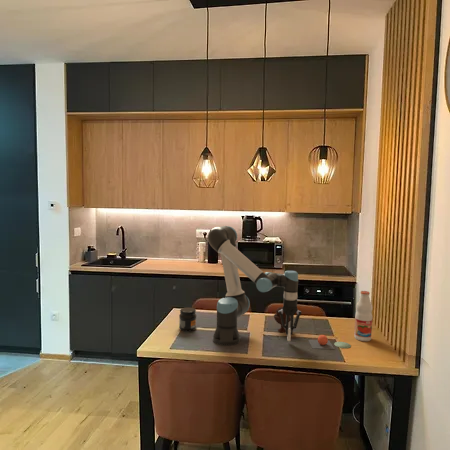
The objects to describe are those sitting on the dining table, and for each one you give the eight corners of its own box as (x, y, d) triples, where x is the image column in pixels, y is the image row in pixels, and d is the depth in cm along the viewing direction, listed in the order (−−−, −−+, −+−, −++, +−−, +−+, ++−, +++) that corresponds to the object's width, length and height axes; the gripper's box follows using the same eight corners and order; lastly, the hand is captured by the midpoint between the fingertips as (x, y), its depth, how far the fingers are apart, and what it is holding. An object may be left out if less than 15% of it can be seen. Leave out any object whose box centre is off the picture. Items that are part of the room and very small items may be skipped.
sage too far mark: (336, 348, 207) (336, 347, 207) (332, 341, 216) (332, 341, 216) (353, 348, 207) (353, 348, 207) (348, 342, 216) (348, 341, 216)
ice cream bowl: (291, 334, 225) (292, 310, 224) (272, 333, 227) (273, 308, 226) (291, 328, 236) (292, 305, 234) (273, 327, 238) (274, 303, 237)
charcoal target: (312, 348, 205) (312, 348, 205) (308, 340, 217) (308, 339, 217) (334, 349, 205) (334, 348, 205) (329, 340, 217) (329, 340, 217)
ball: (318, 337, 208) (328, 337, 208) (316, 333, 213) (326, 333, 213) (319, 347, 208) (329, 346, 208) (316, 343, 214) (326, 342, 214)
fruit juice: (366, 335, 227) (369, 289, 225) (374, 341, 218) (376, 293, 215) (351, 335, 226) (353, 289, 224) (358, 341, 217) (360, 293, 215)
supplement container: (199, 328, 233) (200, 309, 232) (188, 333, 224) (188, 313, 223) (187, 324, 239) (187, 306, 238) (175, 329, 230) (175, 310, 229)
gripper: (279, 300, 206) (277, 342, 208) (303, 301, 206) (301, 343, 208) (277, 296, 213) (276, 337, 215) (300, 297, 213) (299, 337, 215)
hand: (288, 340), depth 211 cm, fingers closed
